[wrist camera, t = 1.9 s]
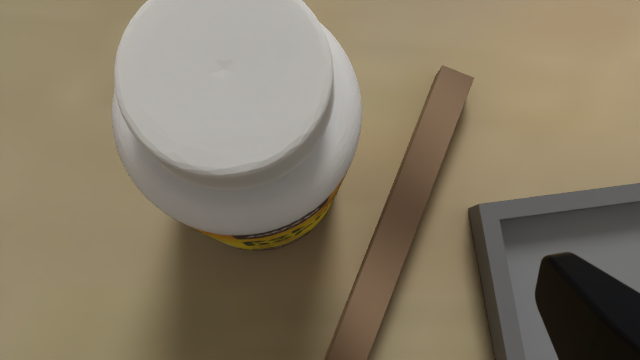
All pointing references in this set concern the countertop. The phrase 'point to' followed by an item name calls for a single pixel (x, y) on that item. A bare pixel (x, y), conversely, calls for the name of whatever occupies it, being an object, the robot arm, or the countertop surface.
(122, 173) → the countertop surface
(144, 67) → the supplement bottle
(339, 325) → the strip
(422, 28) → the countertop surface
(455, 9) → the countertop surface
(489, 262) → the square tray
